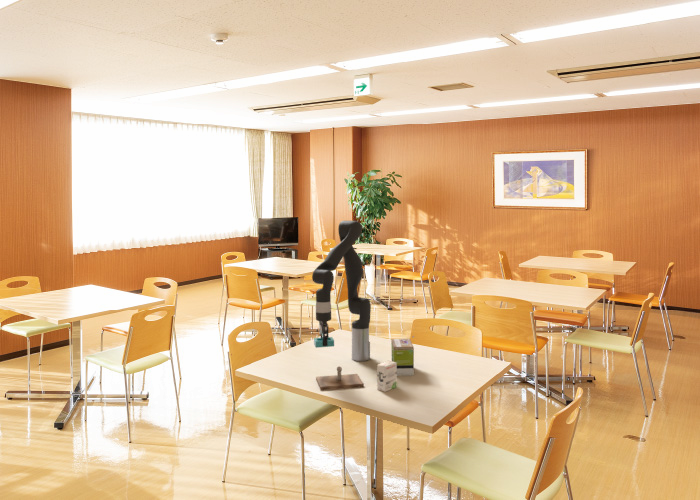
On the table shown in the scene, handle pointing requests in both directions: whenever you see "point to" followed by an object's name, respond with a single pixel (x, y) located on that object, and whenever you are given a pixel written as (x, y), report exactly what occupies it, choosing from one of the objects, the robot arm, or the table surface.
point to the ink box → (386, 375)
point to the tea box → (403, 356)
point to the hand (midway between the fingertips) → (324, 343)
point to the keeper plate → (339, 381)
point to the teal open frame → (319, 342)
